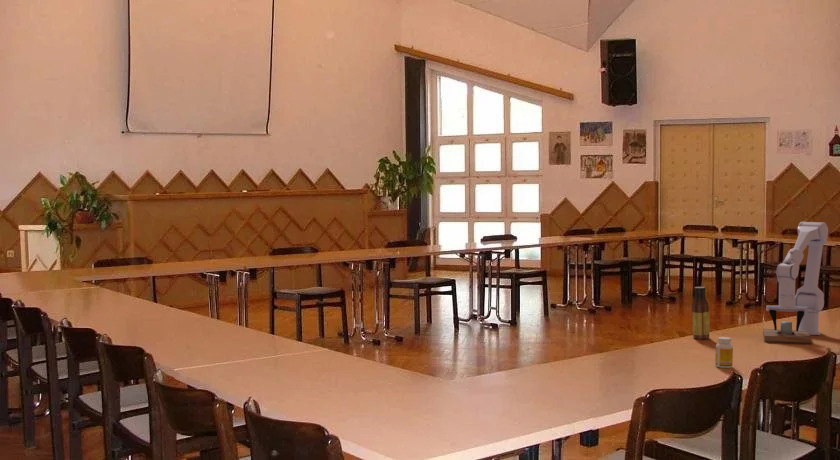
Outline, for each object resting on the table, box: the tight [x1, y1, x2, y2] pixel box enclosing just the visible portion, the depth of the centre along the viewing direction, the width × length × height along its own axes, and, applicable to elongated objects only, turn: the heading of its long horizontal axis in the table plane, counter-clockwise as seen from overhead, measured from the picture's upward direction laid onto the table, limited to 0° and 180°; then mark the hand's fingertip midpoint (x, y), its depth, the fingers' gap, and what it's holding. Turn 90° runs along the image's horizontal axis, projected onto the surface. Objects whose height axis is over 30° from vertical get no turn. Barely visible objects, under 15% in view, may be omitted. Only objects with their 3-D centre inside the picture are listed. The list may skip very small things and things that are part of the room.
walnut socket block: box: [762, 328, 812, 345], centre depth 351 cm, size 16×16×2 cm
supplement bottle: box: [714, 336, 734, 369], centre depth 303 cm, size 5×5×10 cm
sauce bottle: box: [691, 286, 710, 340], centre depth 355 cm, size 7×6×20 cm
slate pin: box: [780, 320, 793, 335], centre depth 351 cm, size 4×4×6 cm
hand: (786, 330), depth 351 cm, fingers open, 7 cm apart
